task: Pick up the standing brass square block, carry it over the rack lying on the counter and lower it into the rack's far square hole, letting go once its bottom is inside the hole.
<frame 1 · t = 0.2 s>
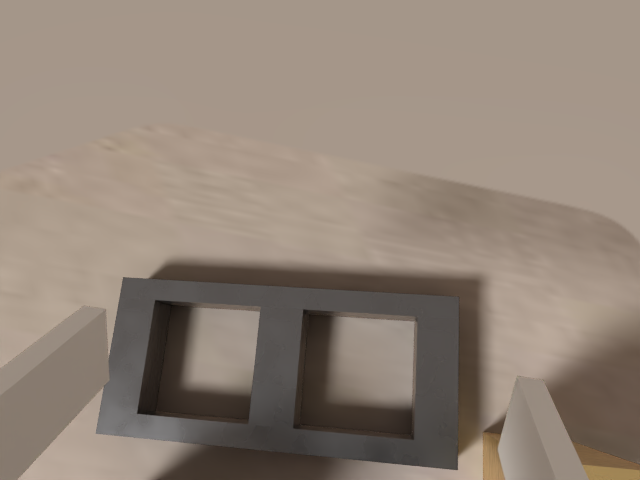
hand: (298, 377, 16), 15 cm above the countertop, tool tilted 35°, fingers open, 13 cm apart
rack: (284, 366, 31), on the countertop
brass block: (525, 479, 28), on the countertop
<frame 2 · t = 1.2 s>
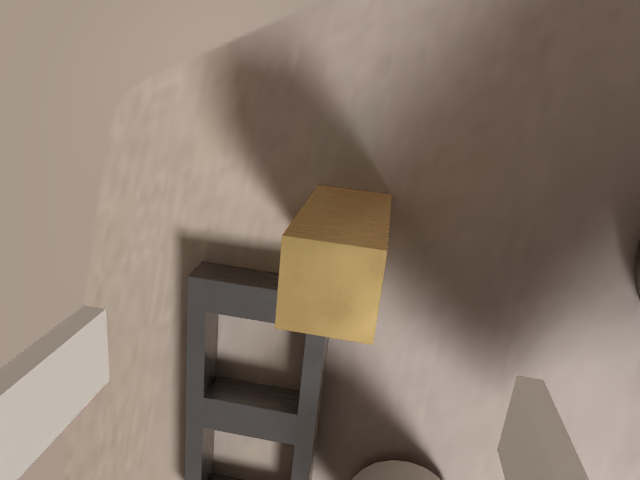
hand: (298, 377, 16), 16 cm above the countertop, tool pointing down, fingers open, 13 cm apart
rack: (258, 398, 37), on the countertop
brass block: (350, 224, 31), on the countertop
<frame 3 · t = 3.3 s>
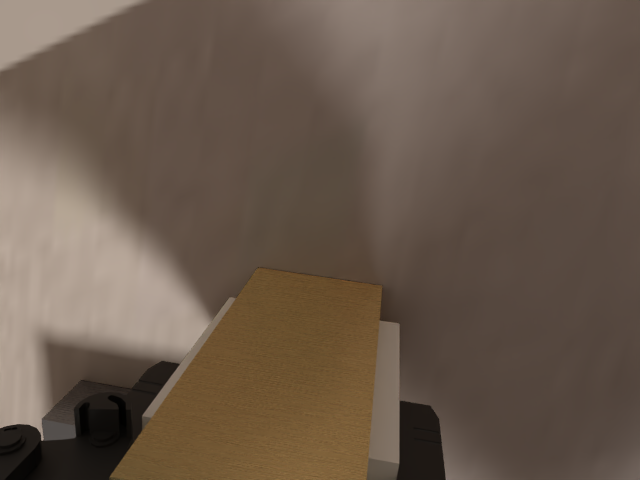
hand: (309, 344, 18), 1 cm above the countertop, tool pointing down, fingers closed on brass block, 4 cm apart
brass block: (313, 331, 19), on the countertop, touching gripper
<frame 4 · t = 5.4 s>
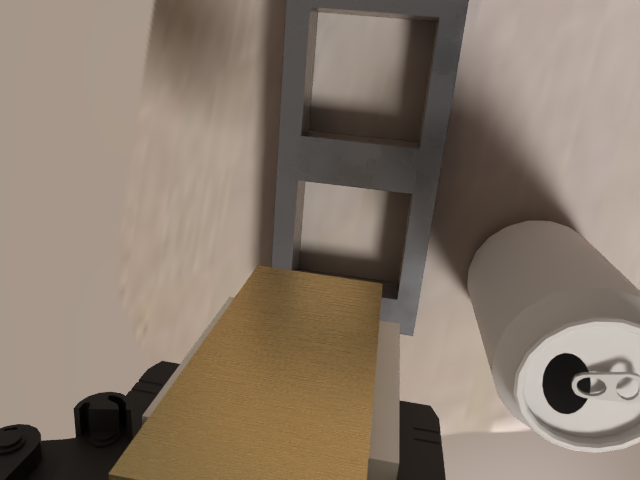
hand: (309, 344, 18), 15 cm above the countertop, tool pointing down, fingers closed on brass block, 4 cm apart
can: (527, 273, 31), on the countertop
rack: (360, 157, 30), on the countertop
brass block: (313, 329, 19), point 14 cm above the countertop, touching gripper
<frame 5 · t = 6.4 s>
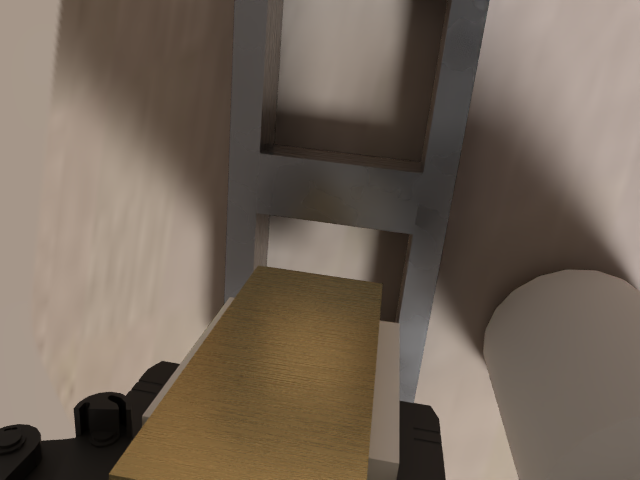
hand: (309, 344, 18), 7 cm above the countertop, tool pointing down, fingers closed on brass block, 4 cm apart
can: (562, 334, 24), on the countertop
rack: (343, 180, 23), on the countertop
brass block: (313, 330, 19), point 6 cm above the countertop, touching gripper
when the fingers open (3 cm above the countertop, at t = 7.4 s): brass block drops 2 cm, resting in rack.
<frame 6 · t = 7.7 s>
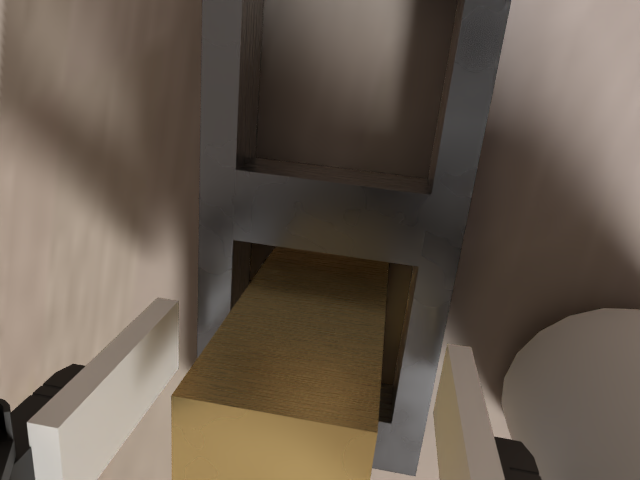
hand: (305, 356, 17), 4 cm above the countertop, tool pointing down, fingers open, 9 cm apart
can: (592, 379, 20), on the countertop, touching gripper
rack: (336, 200, 19), on the countertop
brass block: (326, 303, 21), resting in rack
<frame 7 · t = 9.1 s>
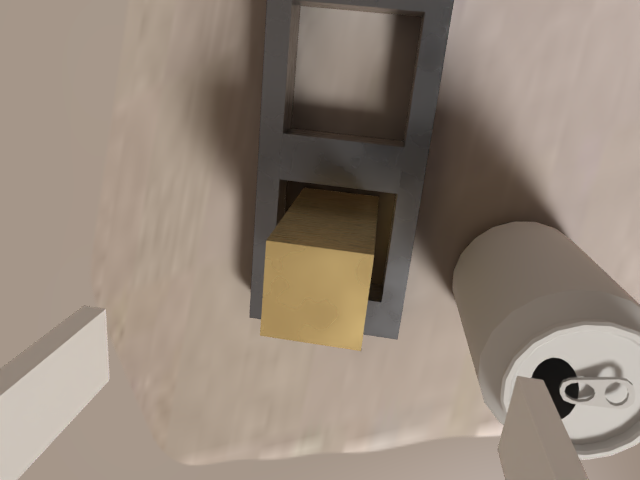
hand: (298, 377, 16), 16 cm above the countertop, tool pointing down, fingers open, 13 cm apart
can: (513, 275, 31), on the countertop
rack: (344, 156, 30), on the countertop
brass block: (337, 227, 31), resting in rack
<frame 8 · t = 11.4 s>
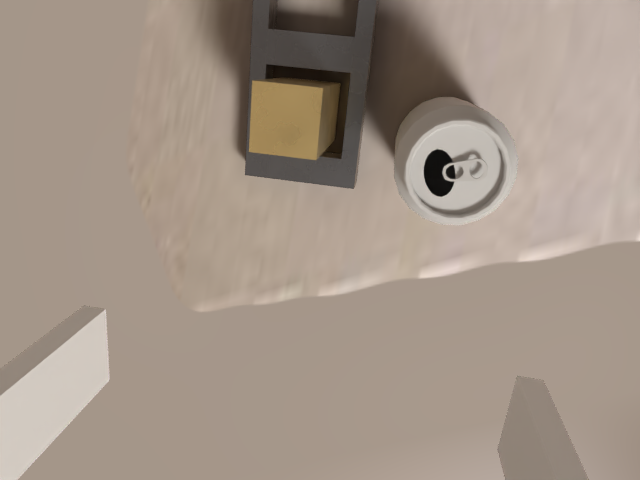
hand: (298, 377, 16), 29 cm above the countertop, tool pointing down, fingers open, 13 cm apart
can: (441, 143, 41), on the countertop
rack: (314, 51, 40), on the countertop
brass block: (310, 108, 42), resting in rack
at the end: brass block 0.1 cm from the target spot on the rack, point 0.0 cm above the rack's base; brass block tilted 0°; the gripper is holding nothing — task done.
